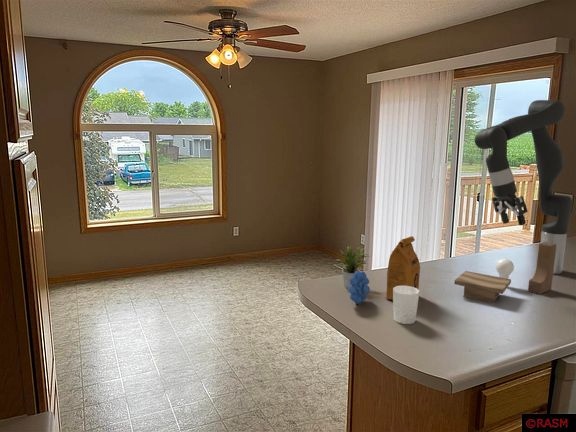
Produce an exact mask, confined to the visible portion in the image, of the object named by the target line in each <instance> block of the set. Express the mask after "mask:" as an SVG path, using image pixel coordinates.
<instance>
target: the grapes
mask: <svg viewBox="0 0 576 432" xmlns="http://www.w3.org/2000/svg"><path fill="white" fill-rule="evenodd" d="M360 271H361V270H360ZM350 283H351V284H352V285H351V286H349V287H348V288H347V290H348V293H349V299H350V301H352V302H354V303H355V304H357V305H359V304H361V303H362V302H363V301H366V299H367V297H368V296H367V294H368V293H370V291H371V288H370V286H369V283H370V280H369V278H368V277H367V273H366V272H364V271H361V272H359V271H356V272H355V273H354V277H351V278H350Z"/></svg>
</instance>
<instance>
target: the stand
mask: <svg viewBox="0 0 576 432" xmlns="http://www.w3.org/2000/svg"><path fill="white" fill-rule="evenodd" d="M511 283H512V279H511V278H508V279H507V278H501V277H499V276H495V275H489V274H484V273H479V272H474V271H468V270H465V271H463V272H462V273H461V274H460V275H459V276H458V277H457V278H455V279H454V283H453V284H454V285H455V286H462V287H463V297H464V298H465V297H466V298H470V299H474V300H479V301H483V302H488V303H494V302H496V300H497V299H498V297H499V296H500V295H503V294H504V293H505V291H507V288H509V286H510V285H511Z"/></svg>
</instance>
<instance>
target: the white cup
mask: <svg viewBox="0 0 576 432" xmlns="http://www.w3.org/2000/svg"><path fill="white" fill-rule="evenodd" d="M419 297H420V289H419V290H418V289H417V288H414V287H411V286H396V287H394V288H393V300H392V311H393V318H392V319H393V320H394V321H395V322H396V323H399V324H403V325H411V324H415V322H416V321H417V312H418V306H419V299H420V298H419Z"/></svg>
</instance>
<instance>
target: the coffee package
mask: <svg viewBox="0 0 576 432" xmlns="http://www.w3.org/2000/svg"><path fill="white" fill-rule="evenodd" d="M415 241H416V239H415V238H414V236H412V235H411V236H409V237H406V238H401V240H400V241H399V242H398V244H397V245H396V246H395V248H394V249H393V250H392V251H391V254H390V255H389V259H388V265H387V272H386V299H387V300H392V301H393V288H394V287H396V286H411V287H414V288H417V289H418V290H419V291H420V288H419V287H420V274H421V265H420V259H419V257H418V255H417V253H416V252H415V250H414V246H413V242H415Z"/></svg>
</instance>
